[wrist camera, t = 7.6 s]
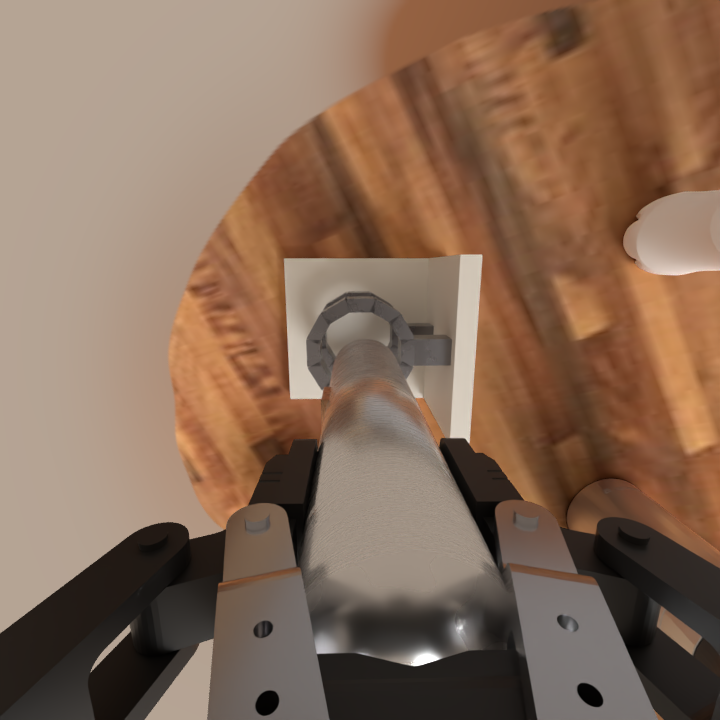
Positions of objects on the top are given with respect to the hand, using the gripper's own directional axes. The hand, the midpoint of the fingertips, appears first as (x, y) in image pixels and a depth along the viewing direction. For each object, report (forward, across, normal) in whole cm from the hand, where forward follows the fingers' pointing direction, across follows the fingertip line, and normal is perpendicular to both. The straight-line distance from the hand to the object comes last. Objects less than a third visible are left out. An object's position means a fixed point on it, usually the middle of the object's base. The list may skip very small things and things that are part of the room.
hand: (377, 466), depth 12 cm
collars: (+25, -1, 0) cm, 25 cm away
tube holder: (+28, 0, 0) cm, 28 cm away
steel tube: (+12, 0, 0) cm, 12 cm away
